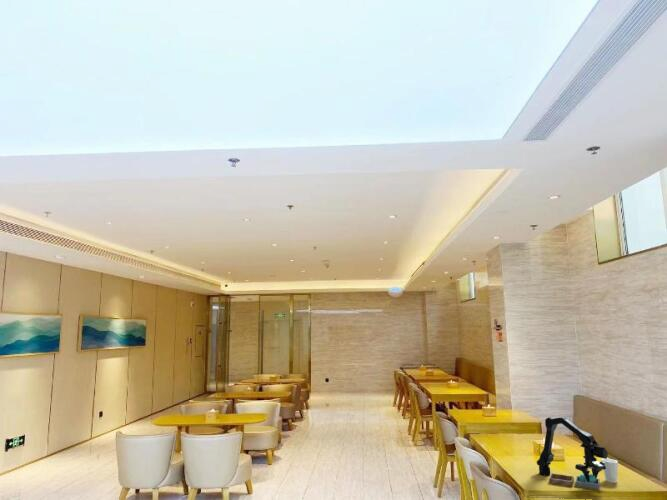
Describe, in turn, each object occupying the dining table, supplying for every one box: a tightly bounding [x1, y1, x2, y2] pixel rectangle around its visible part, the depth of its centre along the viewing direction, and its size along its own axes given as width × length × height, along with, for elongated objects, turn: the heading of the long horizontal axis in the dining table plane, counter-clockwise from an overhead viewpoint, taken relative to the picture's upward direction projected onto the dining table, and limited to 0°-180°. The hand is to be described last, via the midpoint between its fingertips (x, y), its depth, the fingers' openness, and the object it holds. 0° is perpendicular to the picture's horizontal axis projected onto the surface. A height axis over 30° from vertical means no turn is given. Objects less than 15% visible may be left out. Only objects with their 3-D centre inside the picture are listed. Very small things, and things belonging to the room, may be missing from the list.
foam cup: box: [600, 458, 619, 484], centre depth 308 cm, size 10×9×13 cm
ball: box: [578, 473, 587, 483], centre depth 303 cm, size 5×5×5 cm
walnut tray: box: [549, 473, 575, 488], centre depth 305 cm, size 13×13×3 cm
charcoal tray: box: [574, 475, 601, 491], centre depth 299 cm, size 13×13×3 cm
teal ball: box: [589, 473, 596, 483], centre depth 296 cm, size 5×5×5 cm
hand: (591, 481), depth 296 cm, fingers closed on teal ball, 5 cm apart
